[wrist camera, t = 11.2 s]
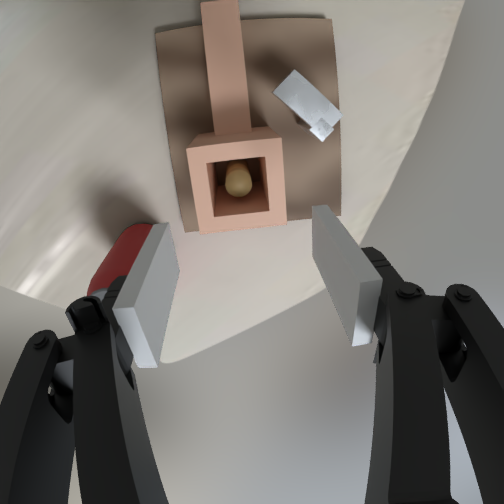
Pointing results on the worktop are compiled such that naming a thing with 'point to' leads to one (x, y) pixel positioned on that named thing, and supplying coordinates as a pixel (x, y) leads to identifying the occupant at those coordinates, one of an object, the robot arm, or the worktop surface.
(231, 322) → the worktop surface
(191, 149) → the link
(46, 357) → the robot arm
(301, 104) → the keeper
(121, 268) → the beer can
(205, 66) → the board
